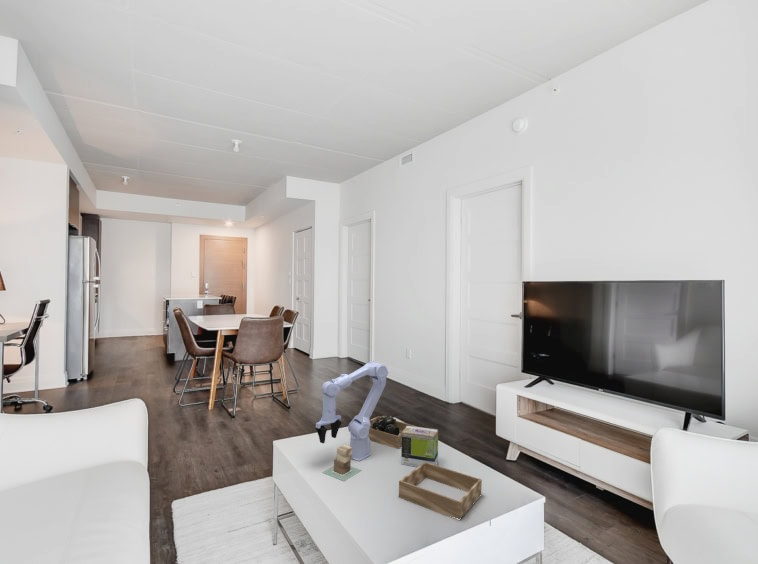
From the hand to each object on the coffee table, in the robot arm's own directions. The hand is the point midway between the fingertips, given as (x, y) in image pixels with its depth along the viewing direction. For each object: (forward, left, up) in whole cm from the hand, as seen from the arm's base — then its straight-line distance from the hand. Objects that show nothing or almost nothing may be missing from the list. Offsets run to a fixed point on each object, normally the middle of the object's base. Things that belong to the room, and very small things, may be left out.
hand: (328, 440), depth 175 cm
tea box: (-26, +32, -11) cm, 43 cm away
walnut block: (+2, +10, -10) cm, 14 cm away
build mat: (+2, +10, -10) cm, 15 cm away
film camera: (-42, +4, -10) cm, 44 cm away
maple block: (+2, +11, -5) cm, 12 cm away
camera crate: (-42, +4, -10) cm, 44 cm away
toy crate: (-6, +52, -10) cm, 53 cm away
